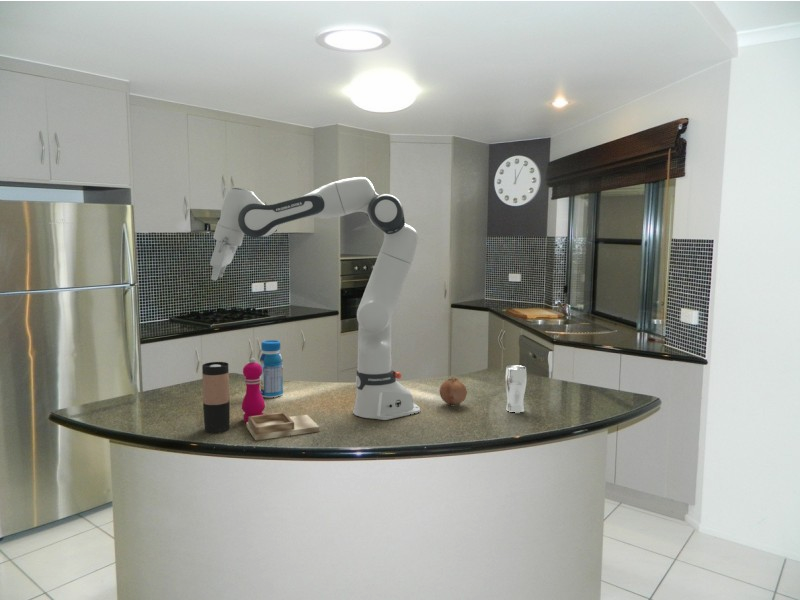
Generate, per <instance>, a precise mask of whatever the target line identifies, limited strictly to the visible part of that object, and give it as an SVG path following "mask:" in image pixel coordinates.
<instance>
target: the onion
mask: <svg viewBox="0 0 800 600" xmlns="http://www.w3.org/2000/svg"><path fill="white" fill-rule="evenodd" d="M467 392H468V391H467V388H466V385H465V384H464V383H463V381H460V380H459V379H458V378H457V377H454V376H453V377H451V378H448V379H446V380H444V381H443V383H442V384H441V385H440V387H439V396H440V398H441V400H442V401H443V402H444V403H445V404H447V405H448V406H452V407H453V405H454V406H457V405H459V404H460V405H461V403H462V402H464V401H466V398H467V395H468V393H467Z"/></svg>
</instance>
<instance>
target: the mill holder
mask: <svg viewBox="0 0 800 600" xmlns="http://www.w3.org/2000/svg"><path fill="white" fill-rule="evenodd" d="M246 428H247V430H248V431H249V433H250V434H251V436H252V437H253V439H254V441H262V440H268V439H269V440H270V439H274V438H275V439H276V438H283V437H289V436H290V435H291V436H297V435H304V434H311V433H317V432H320V425H319V424H318V423H316V422H315V421H314V420H313V419H312V418H311V417H310V416H309V415H308V414H301V415H299V414H298V415H293V416H289V415H288V414H287V413H286V412H285V411H283V412H281V411H280V412H276V413H267V414H264V415H258V416H250V417H248V422H246ZM291 436H290V437H291Z"/></svg>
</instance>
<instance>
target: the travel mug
mask: <svg viewBox="0 0 800 600" xmlns="http://www.w3.org/2000/svg"><path fill="white" fill-rule="evenodd" d="M201 367H202V369H201V370H202V374H201V377H202V405H203V407H202V408H203V422H204V431H205V432H206V433H208V432H209V433H210V434H219V432H220V433H224V431H225V432H227V431H229V429H230V417H231V416H230V413H231V412H230V411H231V410H230V409H231V407H230V406H231V405H230V404H231V403H230V400H231V399H230V398H231V397H230V378H229V377H230V375H229V374H230V373H229V363H228V362H227V361H210V362H206V363H203V364H202V365H201Z"/></svg>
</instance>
